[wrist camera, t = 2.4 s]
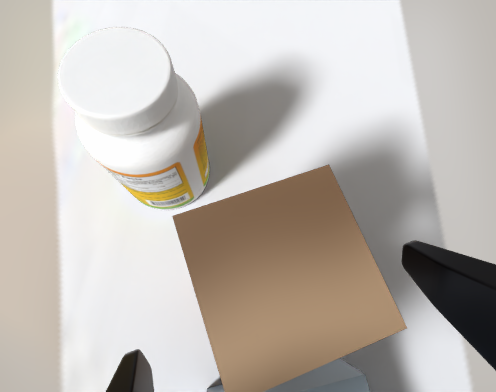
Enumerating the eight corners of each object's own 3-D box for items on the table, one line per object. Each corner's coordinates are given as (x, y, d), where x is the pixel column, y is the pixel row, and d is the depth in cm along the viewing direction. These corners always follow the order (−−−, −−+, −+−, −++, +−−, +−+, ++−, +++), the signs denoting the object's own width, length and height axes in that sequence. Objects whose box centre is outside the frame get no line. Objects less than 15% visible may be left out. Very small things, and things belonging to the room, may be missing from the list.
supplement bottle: (167, 122, 21) (115, -12, 12) (226, 167, 20) (222, 61, 11) (110, 178, 19) (-1, 75, 10) (172, 228, 19) (113, 167, 9)
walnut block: (302, 305, 18) (407, 328, 7) (230, 334, 17) (229, 407, 6) (274, 235, 19) (328, 164, 8) (206, 259, 18) (172, 216, 8)
